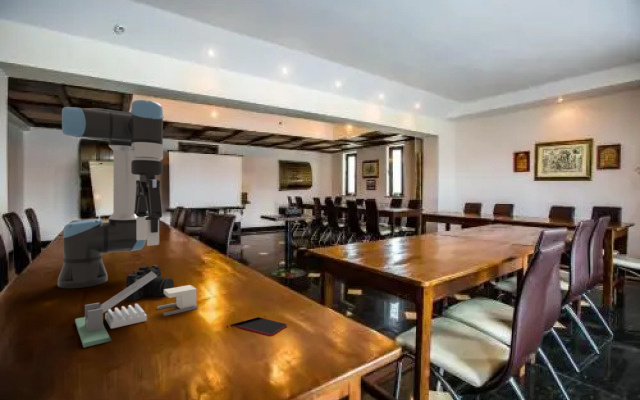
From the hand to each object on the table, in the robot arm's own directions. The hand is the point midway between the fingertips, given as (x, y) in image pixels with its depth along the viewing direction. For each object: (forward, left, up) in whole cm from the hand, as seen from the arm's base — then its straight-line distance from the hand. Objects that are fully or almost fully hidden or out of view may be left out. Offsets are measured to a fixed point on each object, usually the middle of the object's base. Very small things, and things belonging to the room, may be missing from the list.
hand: (147, 242), depth 90 cm
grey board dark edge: (0, -5, -14) cm, 14 cm away
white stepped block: (0, +9, -20) cm, 22 cm away
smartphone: (+22, +21, -22) cm, 37 cm away
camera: (-18, +6, -21) cm, 29 cm away
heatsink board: (0, -1, -21) cm, 21 cm away
